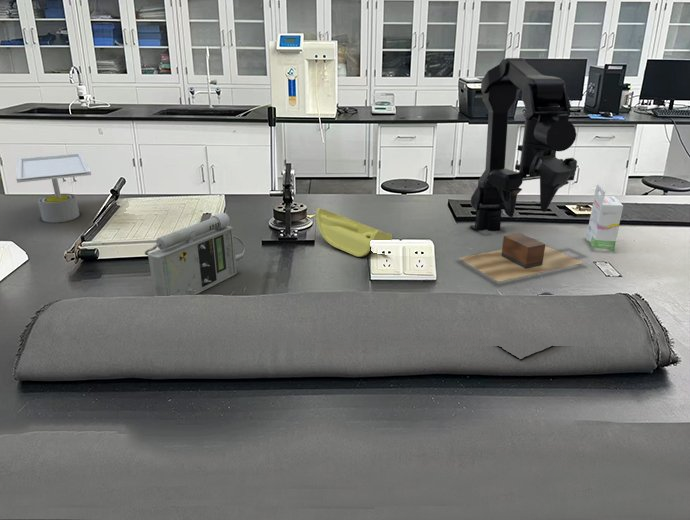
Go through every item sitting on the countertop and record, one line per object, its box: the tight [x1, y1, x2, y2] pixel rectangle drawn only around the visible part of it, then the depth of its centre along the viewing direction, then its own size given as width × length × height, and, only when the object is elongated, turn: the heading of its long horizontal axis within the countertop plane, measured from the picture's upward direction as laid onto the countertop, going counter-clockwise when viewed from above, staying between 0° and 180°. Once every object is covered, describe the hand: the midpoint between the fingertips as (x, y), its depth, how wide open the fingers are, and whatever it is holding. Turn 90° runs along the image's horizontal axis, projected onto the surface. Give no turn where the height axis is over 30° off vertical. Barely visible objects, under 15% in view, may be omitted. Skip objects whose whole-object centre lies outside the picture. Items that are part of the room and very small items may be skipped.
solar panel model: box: [15, 152, 92, 224], centre depth 150 cm, size 28×17×15 cm, turn 29°
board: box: [458, 245, 584, 283], centre depth 120 cm, size 14×24×1 cm, turn 114°
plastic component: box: [315, 207, 394, 258], centre depth 132 cm, size 20×7×10 cm
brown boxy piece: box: [501, 232, 547, 269], centre depth 119 cm, size 8×5×5 cm, turn 24°
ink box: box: [585, 183, 624, 252], centre depth 128 cm, size 9×5×15 cm, turn 168°
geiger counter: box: [144, 212, 247, 297], centre depth 108 cm, size 14×6×25 cm
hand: (527, 213), depth 116 cm, fingers open, 9 cm apart
